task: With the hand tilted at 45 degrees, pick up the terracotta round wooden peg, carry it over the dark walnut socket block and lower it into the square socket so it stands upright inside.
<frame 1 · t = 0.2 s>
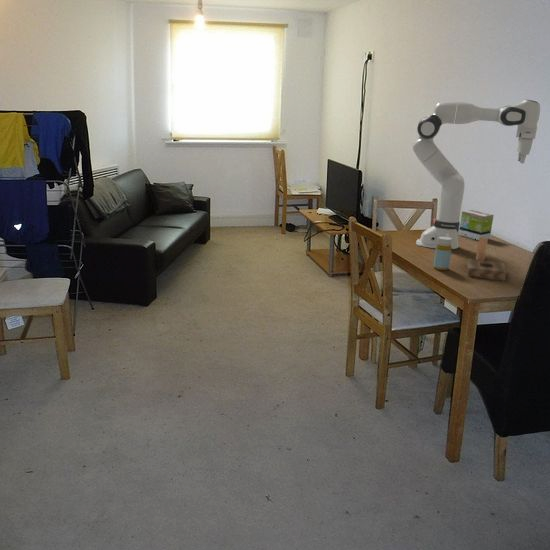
hand: (520, 162, 283), 48 cm above the table, tool pointing down, fingers open, 8 cm apart
bottle: (440, 269, 266), on the table
tea box: (473, 237, 329), on the table
peg: (479, 263, 276), on the table
socket block: (485, 273, 261), on the table
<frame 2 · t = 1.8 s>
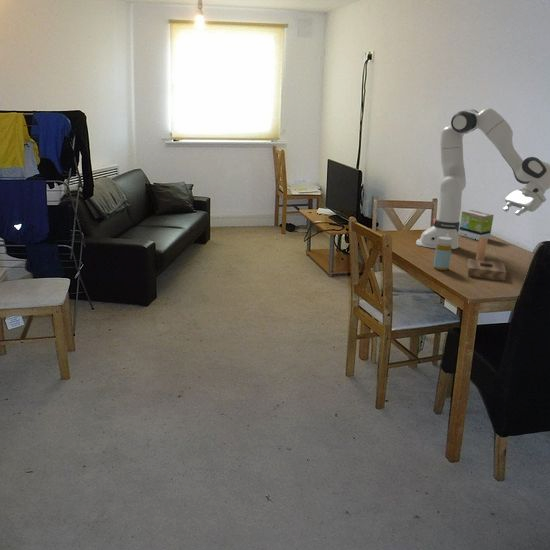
hand: (510, 212, 271), 26 cm above the table, tool tilted 45°, fingers open, 8 cm apart
nothing on the table moved.
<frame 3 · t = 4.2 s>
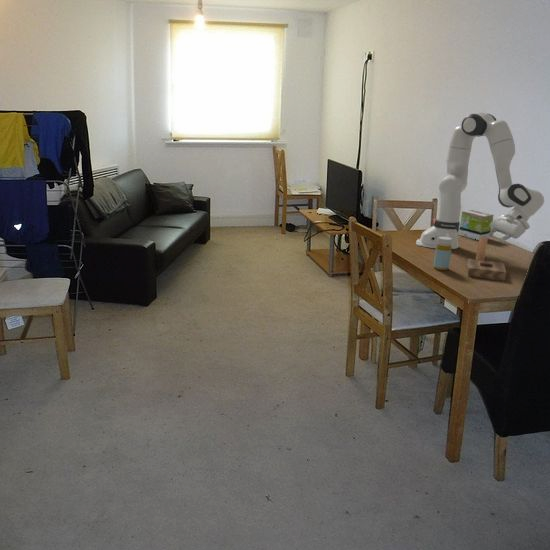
hand: (494, 238, 274), 13 cm above the table, tool tilted 45°, fingers open, 8 cm apart
nothing on the table moved.
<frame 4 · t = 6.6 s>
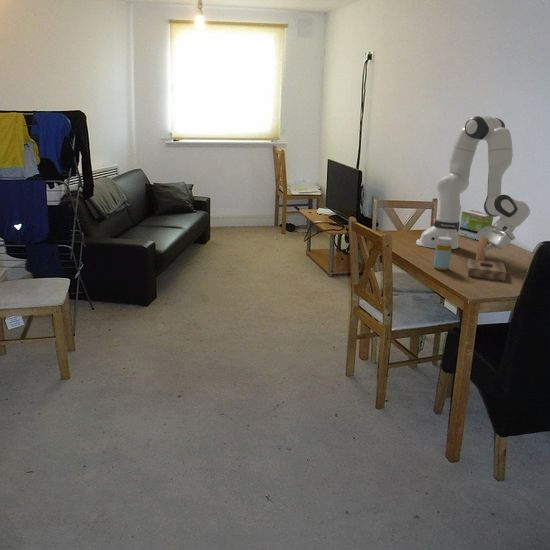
hand: (480, 249, 274), 7 cm above the table, tool tilted 45°, fingers closed on peg, 4 cm apart
peg: (479, 263, 276), on the table, touching gripper
everything else where it was.
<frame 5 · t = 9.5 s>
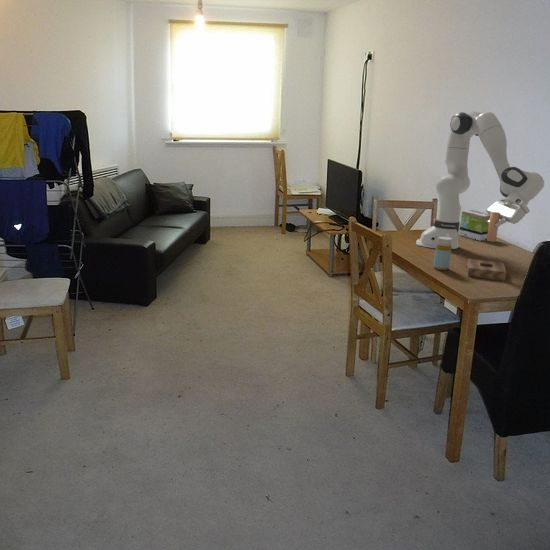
hand: (492, 224, 255), 23 cm above the table, tool tilted 45°, fingers closed on peg, 4 cm apart
peg: (491, 240, 258), point 16 cm above the table, touching gripper
everything else where it was.
when the fingers open (8 cm above the table, at t = 12.5 s): peg stays where it is, resting in socket block.
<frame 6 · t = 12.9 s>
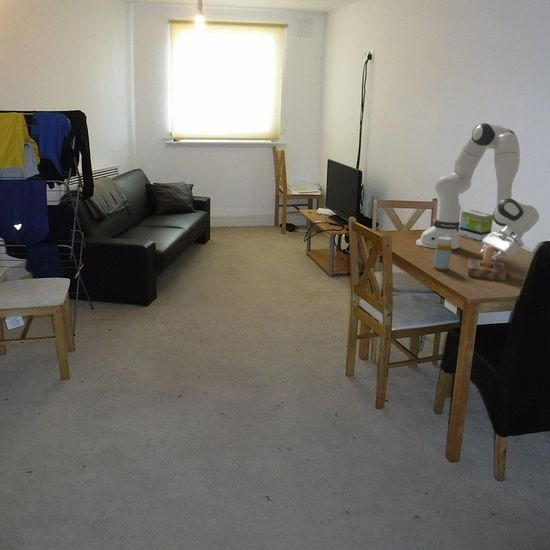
hand: (486, 256, 259), 8 cm above the table, tool tilted 45°, fingers open, 8 cm apart
peg: (485, 273, 261), resting in socket block
everything else where it was.
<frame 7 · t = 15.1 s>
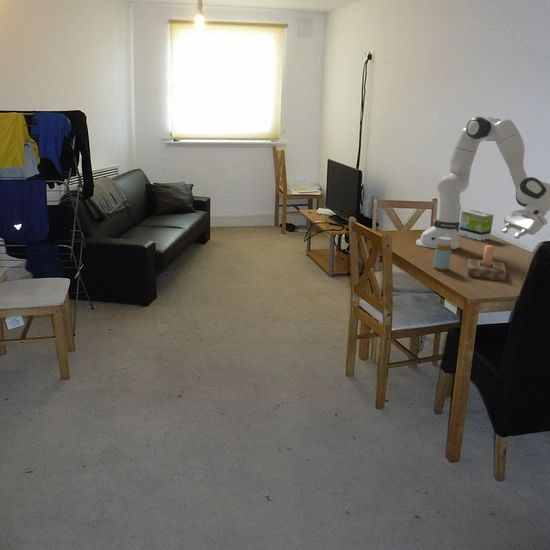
hand: (509, 234, 258), 18 cm above the table, tool tilted 45°, fingers open, 8 cm apart
nothing on the table moved.
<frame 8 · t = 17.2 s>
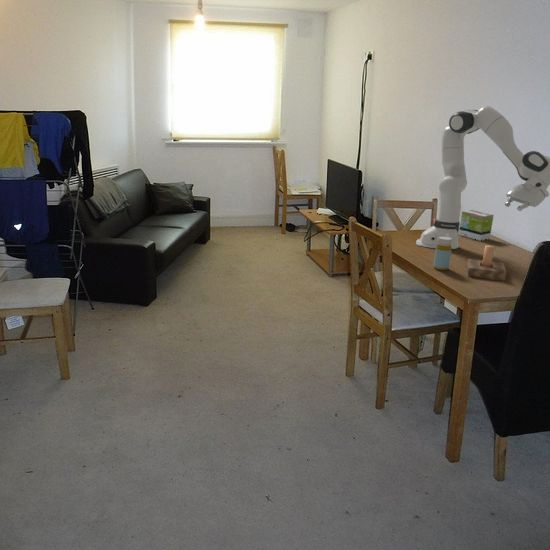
hand: (512, 207, 262), 29 cm above the table, tool tilted 45°, fingers open, 8 cm apart
nothing on the table moved.
at the end: peg 0.1 cm off-centre on the socket block, point 0.0 cm above the socket block's base; peg tilted 0°; the gripper is holding nothing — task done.
